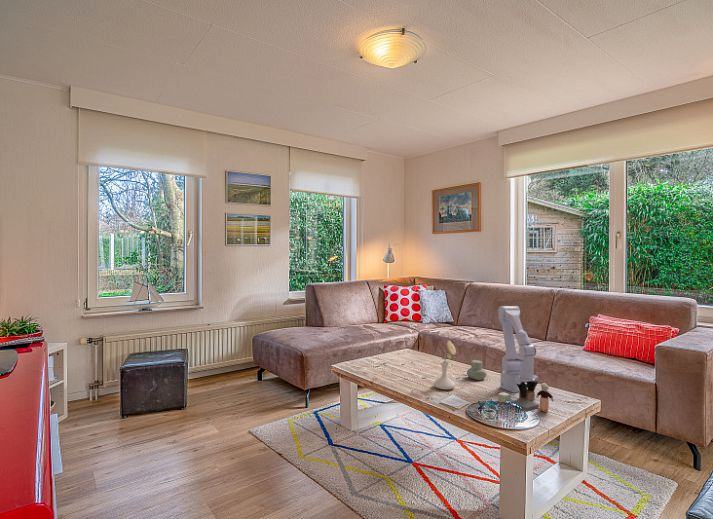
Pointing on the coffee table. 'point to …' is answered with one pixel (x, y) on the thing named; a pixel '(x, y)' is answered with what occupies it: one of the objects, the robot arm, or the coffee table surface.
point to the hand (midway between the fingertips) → (526, 396)
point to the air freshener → (476, 370)
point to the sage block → (503, 397)
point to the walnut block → (528, 395)
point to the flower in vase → (444, 380)
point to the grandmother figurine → (544, 398)
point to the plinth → (525, 404)
